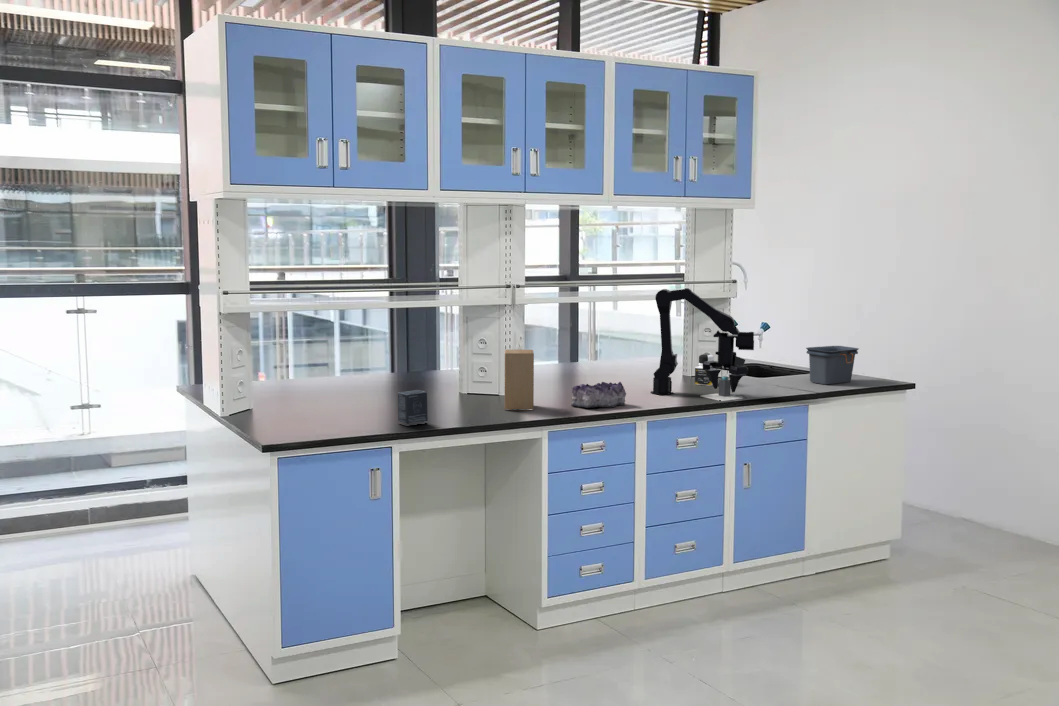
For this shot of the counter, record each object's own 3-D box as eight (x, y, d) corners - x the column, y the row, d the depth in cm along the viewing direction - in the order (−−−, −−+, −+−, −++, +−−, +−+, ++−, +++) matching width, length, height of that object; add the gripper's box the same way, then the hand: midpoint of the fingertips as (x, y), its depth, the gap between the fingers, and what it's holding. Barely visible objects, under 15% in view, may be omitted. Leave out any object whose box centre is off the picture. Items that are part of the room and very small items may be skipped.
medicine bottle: (694, 384, 392) (695, 355, 391) (699, 382, 398) (700, 353, 397) (711, 386, 389) (712, 356, 387) (716, 383, 395) (717, 354, 394)
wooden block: (532, 405, 346) (533, 349, 343) (533, 410, 336) (533, 353, 333) (504, 405, 346) (504, 349, 343) (504, 410, 336) (504, 353, 333)
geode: (614, 401, 355) (617, 375, 353) (631, 411, 345) (634, 384, 343) (565, 403, 346) (568, 376, 344) (580, 413, 336) (584, 385, 334)
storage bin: (833, 377, 412) (835, 344, 410) (865, 382, 399) (866, 348, 398) (800, 382, 400) (802, 347, 398) (832, 387, 387) (833, 352, 385)
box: (418, 421, 317) (418, 389, 315) (428, 424, 312) (427, 391, 311) (397, 424, 312) (397, 391, 310) (407, 427, 307) (406, 394, 306)
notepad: (722, 401, 355) (722, 399, 355) (700, 396, 365) (700, 395, 365) (744, 398, 361) (744, 397, 361) (721, 393, 371) (721, 392, 371)
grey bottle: (724, 396, 363) (724, 377, 362) (718, 395, 366) (719, 376, 365) (730, 395, 365) (730, 377, 364) (724, 394, 367) (725, 375, 366)
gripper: (759, 350, 360) (758, 392, 362) (723, 345, 375) (722, 385, 377) (737, 352, 354) (736, 395, 356) (702, 347, 369) (701, 387, 371)
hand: (724, 390), depth 365 cm, fingers open, 9 cm apart
